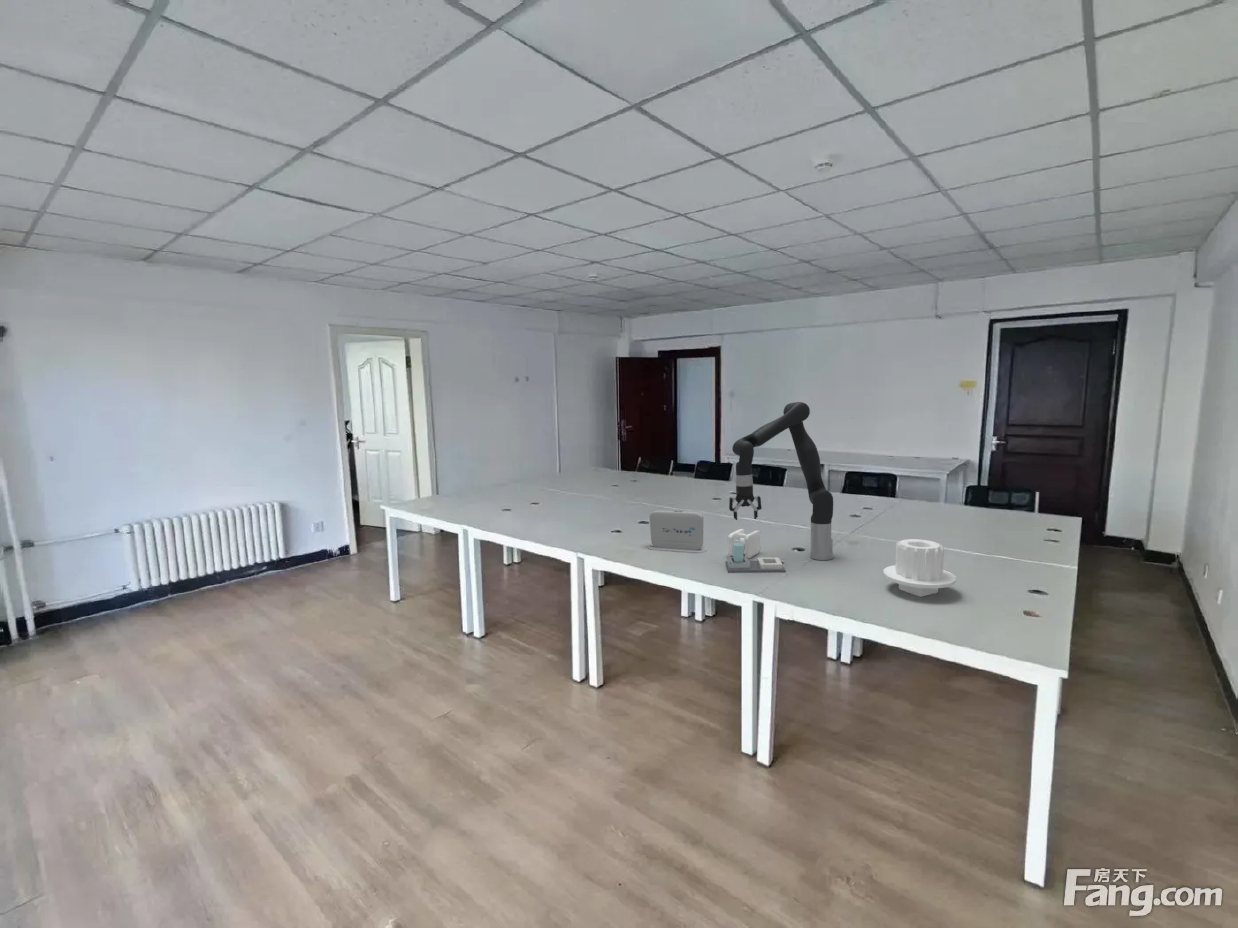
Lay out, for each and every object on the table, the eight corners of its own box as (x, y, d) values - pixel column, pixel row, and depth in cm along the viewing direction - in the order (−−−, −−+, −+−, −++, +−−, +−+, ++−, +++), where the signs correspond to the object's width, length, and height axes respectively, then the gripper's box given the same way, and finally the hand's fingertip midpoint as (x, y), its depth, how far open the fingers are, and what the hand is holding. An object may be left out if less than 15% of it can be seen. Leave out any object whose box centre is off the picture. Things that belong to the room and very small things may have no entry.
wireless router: (645, 549, 295) (643, 512, 292) (651, 544, 304) (650, 508, 302) (704, 553, 283) (703, 514, 281) (708, 548, 292) (707, 510, 290)
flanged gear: (924, 607, 205) (925, 556, 203) (868, 586, 228) (869, 541, 226) (970, 595, 215) (972, 546, 213) (913, 576, 238) (914, 532, 235)
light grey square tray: (778, 561, 262) (778, 557, 262) (782, 568, 252) (782, 564, 252) (757, 561, 263) (757, 557, 263) (760, 568, 253) (760, 564, 253)
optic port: (747, 561, 264) (747, 555, 263) (750, 568, 253) (750, 562, 253) (726, 562, 265) (726, 556, 264) (728, 569, 254) (728, 562, 254)
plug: (742, 563, 261) (741, 542, 260) (743, 567, 256) (743, 545, 255) (733, 563, 262) (733, 542, 260) (734, 567, 257) (734, 545, 255)
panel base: (779, 562, 264) (779, 560, 264) (785, 572, 250) (785, 569, 250) (725, 563, 267) (725, 560, 266) (728, 572, 253) (728, 570, 253)
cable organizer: (747, 560, 269) (747, 536, 268) (727, 557, 276) (727, 534, 274) (760, 552, 281) (760, 529, 279) (741, 549, 287) (740, 527, 286)
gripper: (758, 482, 260) (760, 516, 262) (727, 483, 262) (729, 518, 264) (761, 484, 253) (762, 520, 255) (729, 486, 254) (730, 521, 256)
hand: (745, 519), depth 259 cm, fingers open, 8 cm apart
